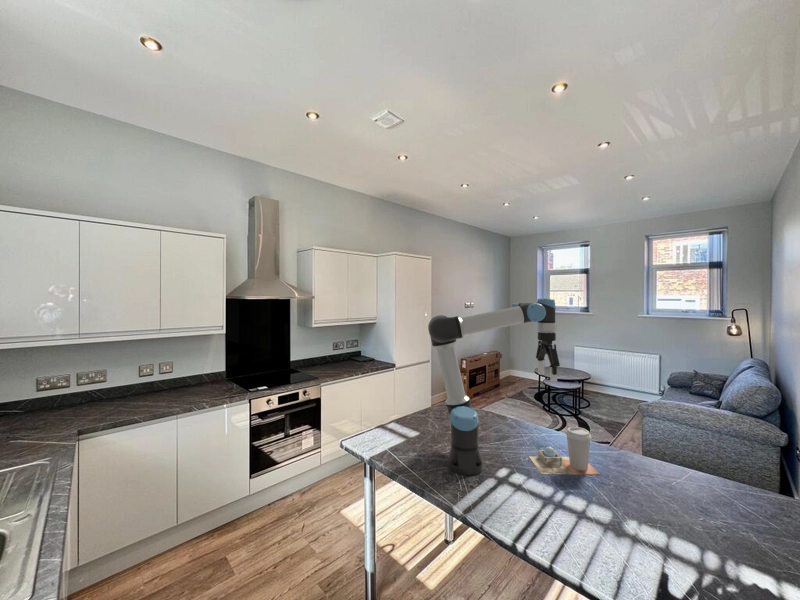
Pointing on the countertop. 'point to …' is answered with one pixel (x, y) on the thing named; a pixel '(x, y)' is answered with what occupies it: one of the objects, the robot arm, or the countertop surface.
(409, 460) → the countertop surface
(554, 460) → the board
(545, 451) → the dome
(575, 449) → the coffee cup
